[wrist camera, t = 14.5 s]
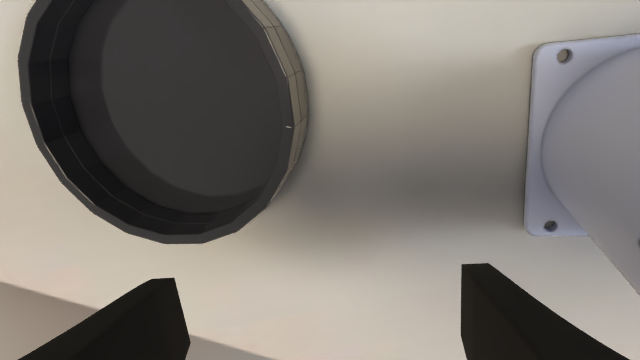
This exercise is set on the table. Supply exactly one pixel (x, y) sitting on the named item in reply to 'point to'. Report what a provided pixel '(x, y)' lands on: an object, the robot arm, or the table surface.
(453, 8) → the table surface
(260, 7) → the bowl
